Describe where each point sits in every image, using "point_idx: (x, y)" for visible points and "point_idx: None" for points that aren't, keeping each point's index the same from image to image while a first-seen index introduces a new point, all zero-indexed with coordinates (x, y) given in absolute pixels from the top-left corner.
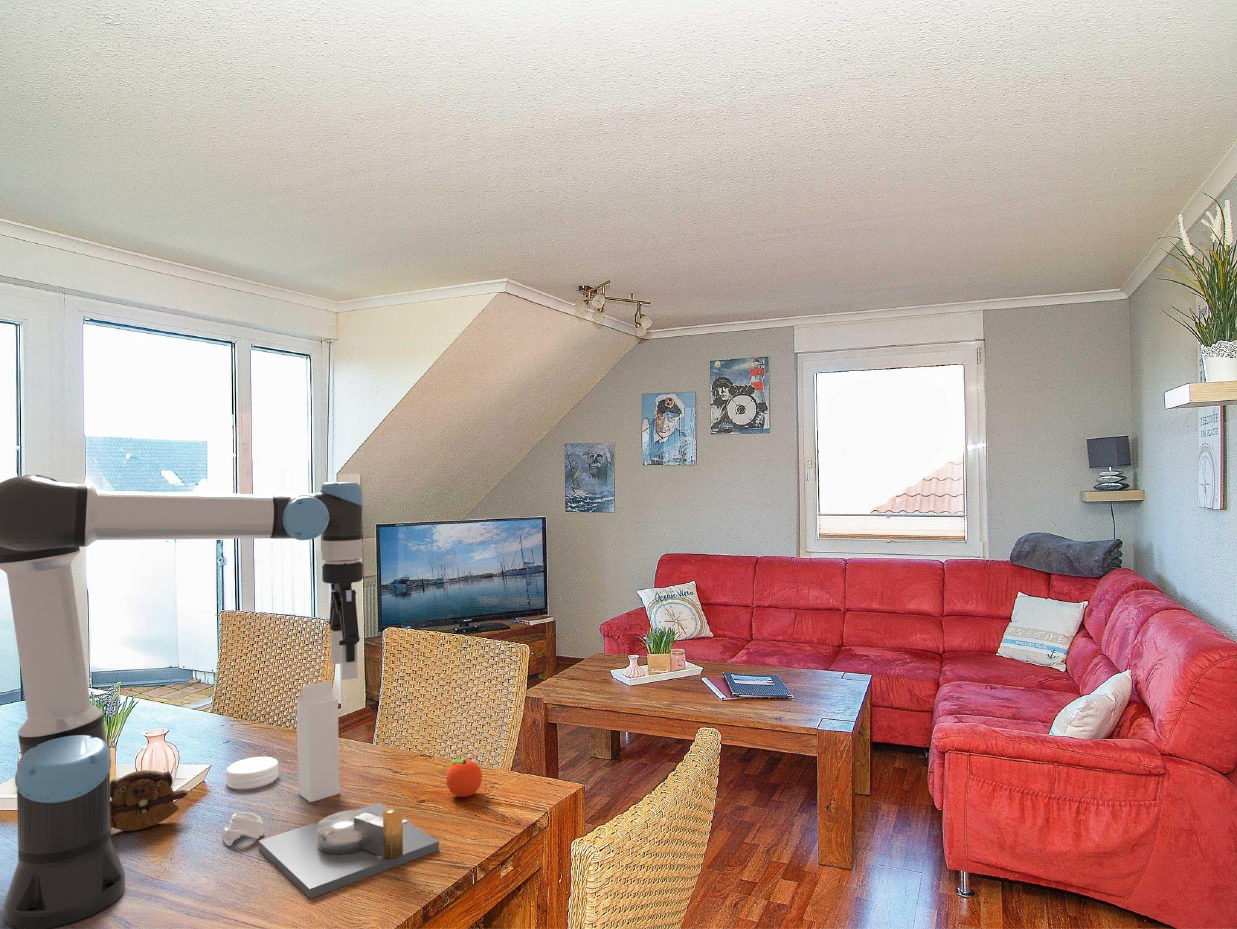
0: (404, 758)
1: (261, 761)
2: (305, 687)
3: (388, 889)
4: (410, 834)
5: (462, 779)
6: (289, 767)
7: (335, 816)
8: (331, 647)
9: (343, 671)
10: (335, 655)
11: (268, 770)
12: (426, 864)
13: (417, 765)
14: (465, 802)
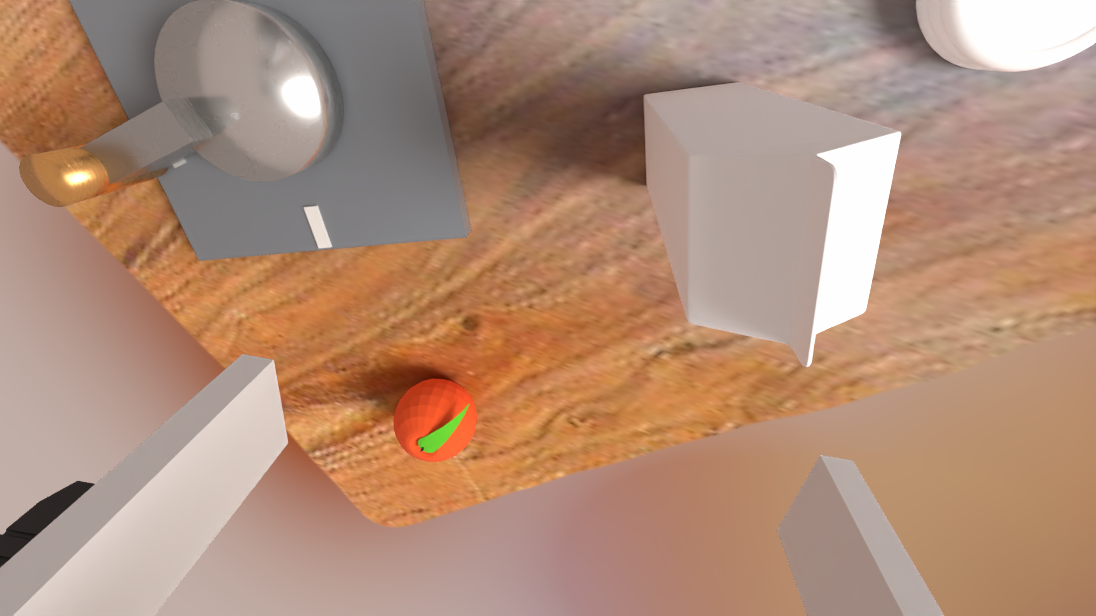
0: (758, 395)
1: (1068, 5)
2: (827, 191)
3: (66, 103)
4: (252, 227)
5: (396, 410)
6: (1005, 122)
7: (292, 79)
8: (899, 604)
9: (196, 403)
10: (836, 541)
11: (945, 10)
12: (158, 209)
13: (686, 397)
14: (413, 381)
